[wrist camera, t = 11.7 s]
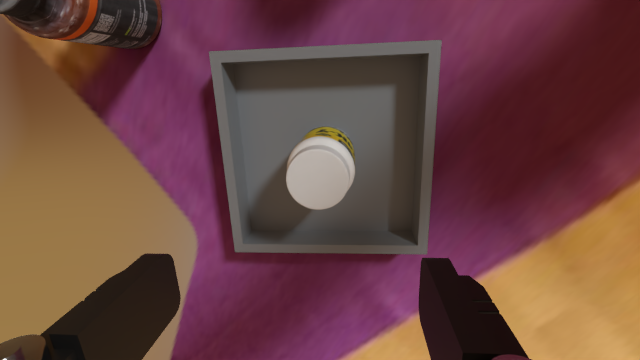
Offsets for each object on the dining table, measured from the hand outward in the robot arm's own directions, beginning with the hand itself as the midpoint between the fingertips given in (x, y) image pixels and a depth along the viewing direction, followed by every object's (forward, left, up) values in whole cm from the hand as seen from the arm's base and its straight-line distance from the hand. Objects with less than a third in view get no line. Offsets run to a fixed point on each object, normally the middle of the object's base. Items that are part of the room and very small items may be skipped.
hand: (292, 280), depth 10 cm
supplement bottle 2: (0, 0, -19) cm, 19 cm away
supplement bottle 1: (+16, -12, -20) cm, 28 cm away
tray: (0, 0, -19) cm, 19 cm away
